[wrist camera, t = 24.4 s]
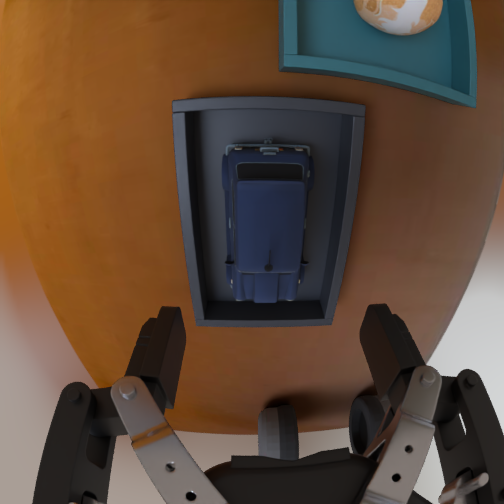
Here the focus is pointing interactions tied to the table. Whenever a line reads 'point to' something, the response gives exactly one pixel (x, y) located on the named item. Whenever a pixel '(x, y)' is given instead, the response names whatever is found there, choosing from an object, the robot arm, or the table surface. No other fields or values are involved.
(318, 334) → the table surface
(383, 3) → the helmet
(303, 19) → the teal tray
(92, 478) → the robot arm
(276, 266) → the toy car
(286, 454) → the headphones
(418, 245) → the table surface
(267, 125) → the charcoal tray
